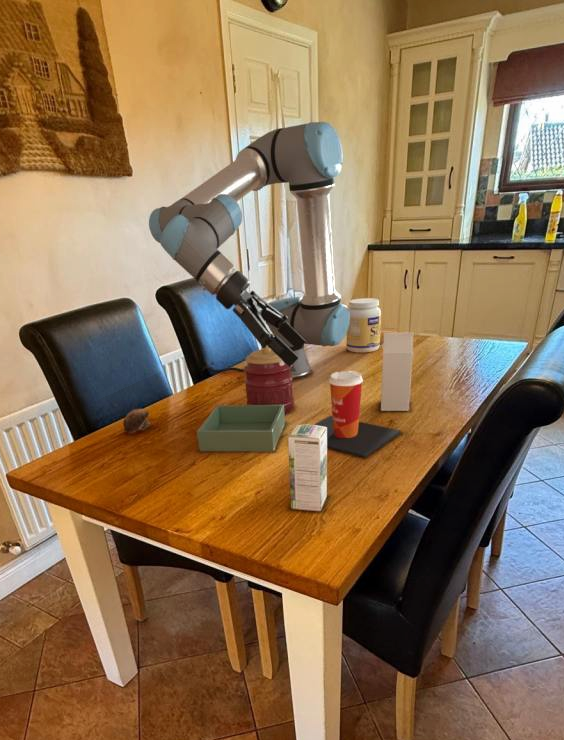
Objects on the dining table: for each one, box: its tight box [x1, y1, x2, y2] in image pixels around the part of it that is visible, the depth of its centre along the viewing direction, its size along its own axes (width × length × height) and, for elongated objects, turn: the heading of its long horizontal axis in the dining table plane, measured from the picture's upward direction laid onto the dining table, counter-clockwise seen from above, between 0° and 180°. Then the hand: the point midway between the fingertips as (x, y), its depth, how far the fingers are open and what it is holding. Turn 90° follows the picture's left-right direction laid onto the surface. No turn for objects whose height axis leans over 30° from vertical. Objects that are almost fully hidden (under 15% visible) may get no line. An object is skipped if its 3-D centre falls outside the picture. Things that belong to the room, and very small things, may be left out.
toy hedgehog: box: [122, 408, 153, 434], centre depth 133 cm, size 8×8×6 cm
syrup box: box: [287, 424, 328, 512], centre depth 92 cm, size 6×6×14 cm
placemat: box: [313, 415, 401, 459], centre depth 122 cm, size 20×16×1 cm
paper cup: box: [328, 370, 364, 438], centre depth 118 cm, size 8×8×14 cm
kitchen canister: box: [242, 346, 295, 414], centre depth 137 cm, size 13×13×18 cm
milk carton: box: [380, 331, 414, 412], centre depth 131 cm, size 7×7×19 cm
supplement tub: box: [345, 297, 382, 354], centre depth 185 cm, size 12×12×17 cm
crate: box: [196, 404, 286, 453], centre depth 125 cm, size 18×18×5 cm
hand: (298, 353), depth 114 cm, fingers open, 13 cm apart
